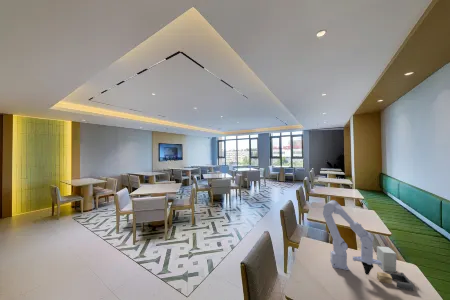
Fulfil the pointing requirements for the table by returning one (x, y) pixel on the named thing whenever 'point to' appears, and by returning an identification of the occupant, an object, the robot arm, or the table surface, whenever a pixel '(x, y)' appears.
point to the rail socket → (402, 285)
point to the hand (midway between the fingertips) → (366, 273)
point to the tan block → (384, 277)
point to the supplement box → (386, 258)
